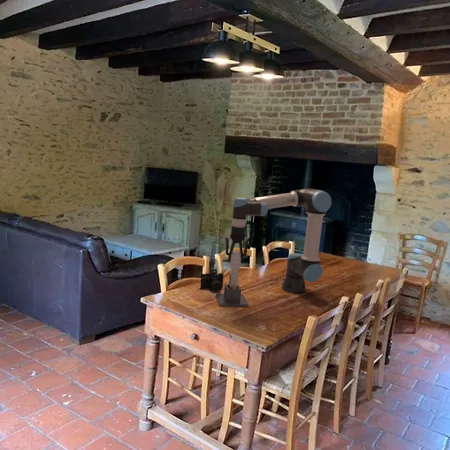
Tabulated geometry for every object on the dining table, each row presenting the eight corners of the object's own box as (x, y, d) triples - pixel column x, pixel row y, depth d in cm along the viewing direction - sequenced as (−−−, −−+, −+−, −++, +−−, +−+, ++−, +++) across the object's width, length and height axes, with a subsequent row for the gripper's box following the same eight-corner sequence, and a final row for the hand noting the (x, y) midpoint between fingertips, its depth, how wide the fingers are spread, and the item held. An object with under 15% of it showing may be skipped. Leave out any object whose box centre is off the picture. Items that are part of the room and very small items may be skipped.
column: (235, 286, 237) (238, 250, 233) (237, 290, 231) (240, 253, 227) (228, 286, 236) (231, 250, 232) (230, 290, 230) (233, 253, 227)
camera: (203, 292, 245) (204, 276, 243) (199, 287, 255) (200, 271, 253) (226, 292, 249) (227, 276, 247) (221, 286, 259) (222, 271, 257)
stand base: (242, 296, 244) (244, 281, 242) (248, 307, 228) (250, 290, 227) (215, 295, 241) (217, 280, 240) (219, 306, 226) (220, 289, 224)
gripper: (252, 225, 232) (248, 266, 236) (222, 223, 230) (218, 265, 234) (255, 228, 225) (251, 270, 229) (223, 226, 222) (220, 268, 226)
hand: (234, 267), depth 231 cm, fingers closed on column, 4 cm apart
